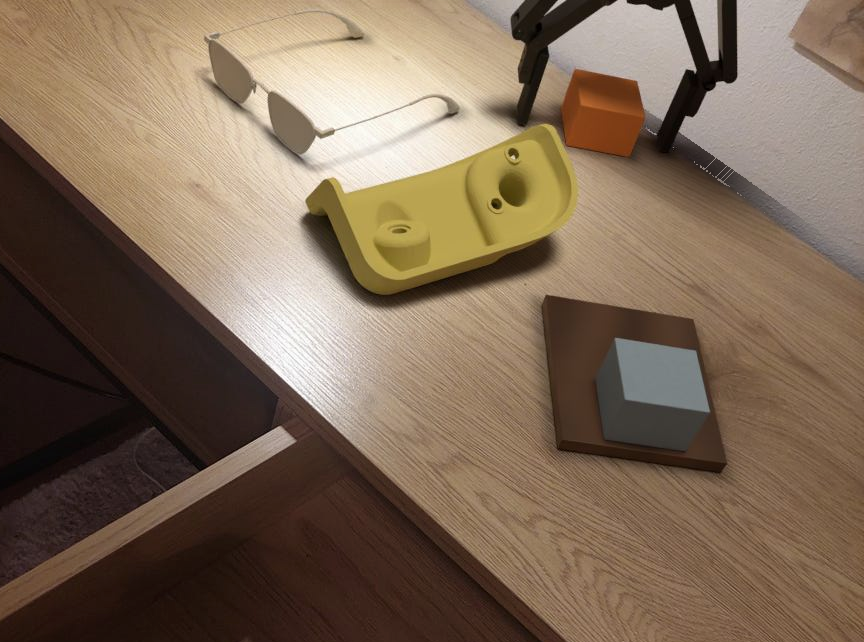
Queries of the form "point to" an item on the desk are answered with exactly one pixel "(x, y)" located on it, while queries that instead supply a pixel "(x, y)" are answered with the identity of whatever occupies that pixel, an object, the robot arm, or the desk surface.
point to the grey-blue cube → (651, 395)
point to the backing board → (581, 361)
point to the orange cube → (602, 113)
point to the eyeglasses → (283, 113)
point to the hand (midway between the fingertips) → (592, 130)
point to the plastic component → (452, 213)
